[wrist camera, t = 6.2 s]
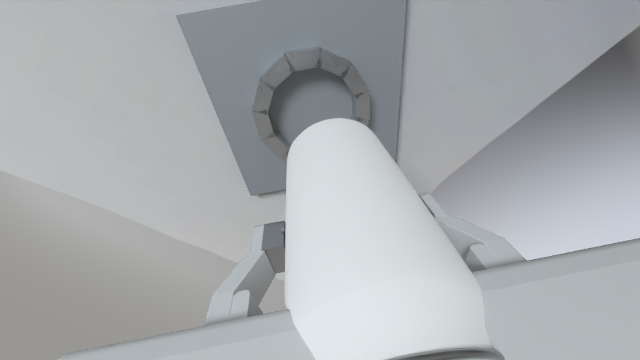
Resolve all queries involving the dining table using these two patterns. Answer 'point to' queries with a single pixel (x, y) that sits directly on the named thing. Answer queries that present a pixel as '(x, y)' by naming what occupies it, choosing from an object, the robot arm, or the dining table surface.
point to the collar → (298, 62)
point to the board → (300, 86)
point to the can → (372, 257)
